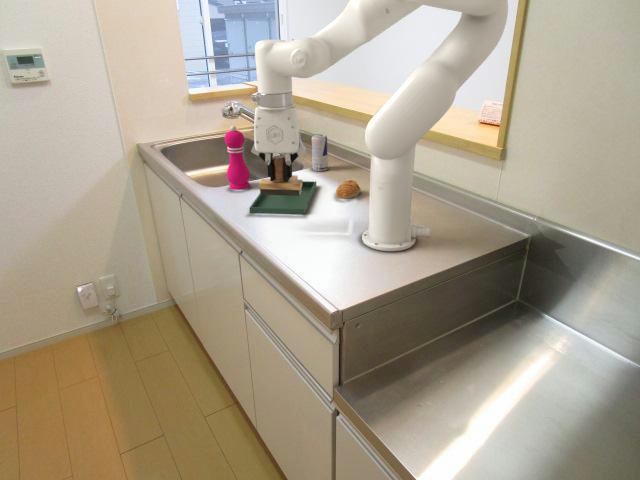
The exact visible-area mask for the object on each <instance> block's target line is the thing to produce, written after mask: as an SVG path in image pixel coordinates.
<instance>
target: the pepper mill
mask: <svg viewBox="0 0 640 480" xmlns="http://www.w3.org/2000/svg"><path fill="white" fill-rule="evenodd" d="M224 143H225V145H226V146H227V147H226V149H227V153H228V154H229V164H228V168H227V171H226V179H227V180H228V181H229V183H228V184H229V189H231V190H236V191H237V190H238V191H239V190H245V189H248V188H250V182H249V180H250V178H251V173H250V170H249V168H248V166H247V164H246V162H245V159H244V153H243V152H244V151H245V149H244V146H243V145H244V144H245V135H244V134H243V133H242V132H241V131H240V130H237V127H236V125H233V124H232V125H230V130H229V131H228V132H226V133H225V135H224Z"/></svg>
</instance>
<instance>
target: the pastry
mask: <svg viewBox="0 0 640 480" xmlns="http://www.w3.org/2000/svg"><path fill="white" fill-rule="evenodd" d="M360 191H361V187H360V185H359V184H358V182H357V181H356V180H353V179H348V180H343V182H341V183H340V184H339V185H338V187H337V188H336V197H337V198H338V199H339V200H347V199H351V198H356V197H357V196H358V195H359V194H360Z"/></svg>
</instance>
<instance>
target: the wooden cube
mask: <svg viewBox="0 0 640 480" xmlns="http://www.w3.org/2000/svg"><path fill="white" fill-rule="evenodd" d="M290 179H294V180H299V178H298V175H292V177H290Z"/></svg>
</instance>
